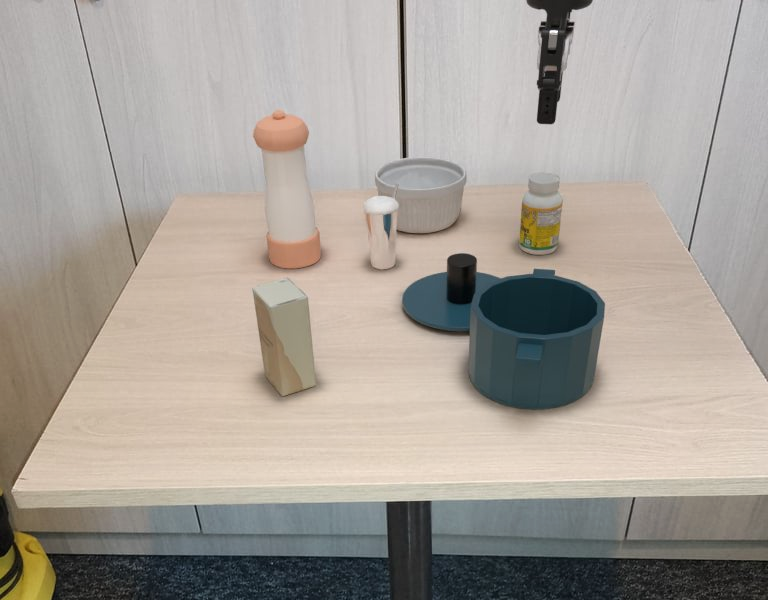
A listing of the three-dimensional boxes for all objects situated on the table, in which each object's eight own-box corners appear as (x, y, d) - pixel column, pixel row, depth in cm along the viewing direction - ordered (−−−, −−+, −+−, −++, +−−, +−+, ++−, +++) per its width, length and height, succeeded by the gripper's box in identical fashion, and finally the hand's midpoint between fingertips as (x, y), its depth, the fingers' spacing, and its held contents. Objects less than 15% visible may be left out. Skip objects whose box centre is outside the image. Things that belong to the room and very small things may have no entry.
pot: (596, 335, 95) (607, 267, 89) (589, 431, 82) (601, 358, 76) (481, 325, 98) (484, 259, 92) (456, 417, 84) (458, 346, 78)
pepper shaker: (262, 252, 115) (241, 107, 102) (310, 241, 117) (296, 98, 104) (279, 273, 110) (259, 123, 97) (328, 261, 112) (316, 113, 99)
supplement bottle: (561, 254, 111) (570, 183, 104) (523, 257, 111) (529, 186, 104) (552, 237, 115) (559, 168, 108) (514, 240, 115) (520, 171, 108)
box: (264, 375, 91) (249, 285, 84) (298, 364, 93) (287, 274, 85) (283, 398, 88) (269, 306, 80) (318, 386, 89) (308, 294, 82)
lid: (524, 282, 105) (528, 237, 101) (512, 340, 95) (516, 293, 91) (415, 274, 108) (414, 230, 104) (391, 330, 98) (389, 283, 94)
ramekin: (460, 199, 126) (461, 153, 121) (469, 235, 116) (471, 187, 112) (375, 204, 126) (373, 158, 121) (377, 240, 116) (375, 191, 112)
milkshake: (411, 261, 111) (409, 188, 104) (383, 275, 108) (380, 201, 102) (387, 251, 113) (385, 179, 107) (360, 265, 111) (355, 192, 104)
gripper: (596, -33, 84) (576, 132, 95) (600, -56, 94) (581, 95, 105) (523, -33, 85) (512, 130, 96) (535, -56, 95) (523, 94, 106)
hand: (548, 112), depth 100 cm, fingers open, 8 cm apart
